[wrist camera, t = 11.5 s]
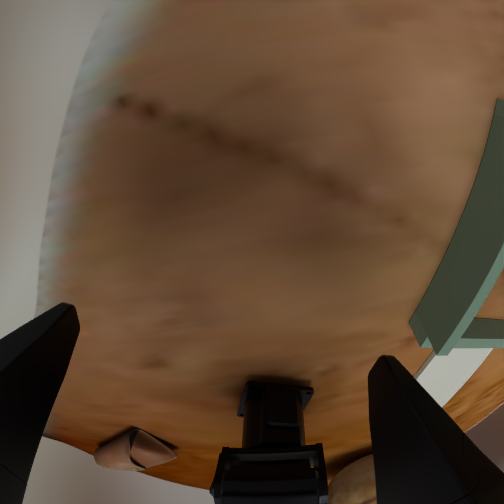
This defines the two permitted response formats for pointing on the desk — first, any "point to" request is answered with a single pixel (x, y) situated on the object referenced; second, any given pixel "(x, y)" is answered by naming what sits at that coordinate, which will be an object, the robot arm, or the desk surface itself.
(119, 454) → the sunglasses case
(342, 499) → the clay pot
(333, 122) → the desk surface
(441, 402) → the tile pad
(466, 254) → the cold frame
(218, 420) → the desk surface
